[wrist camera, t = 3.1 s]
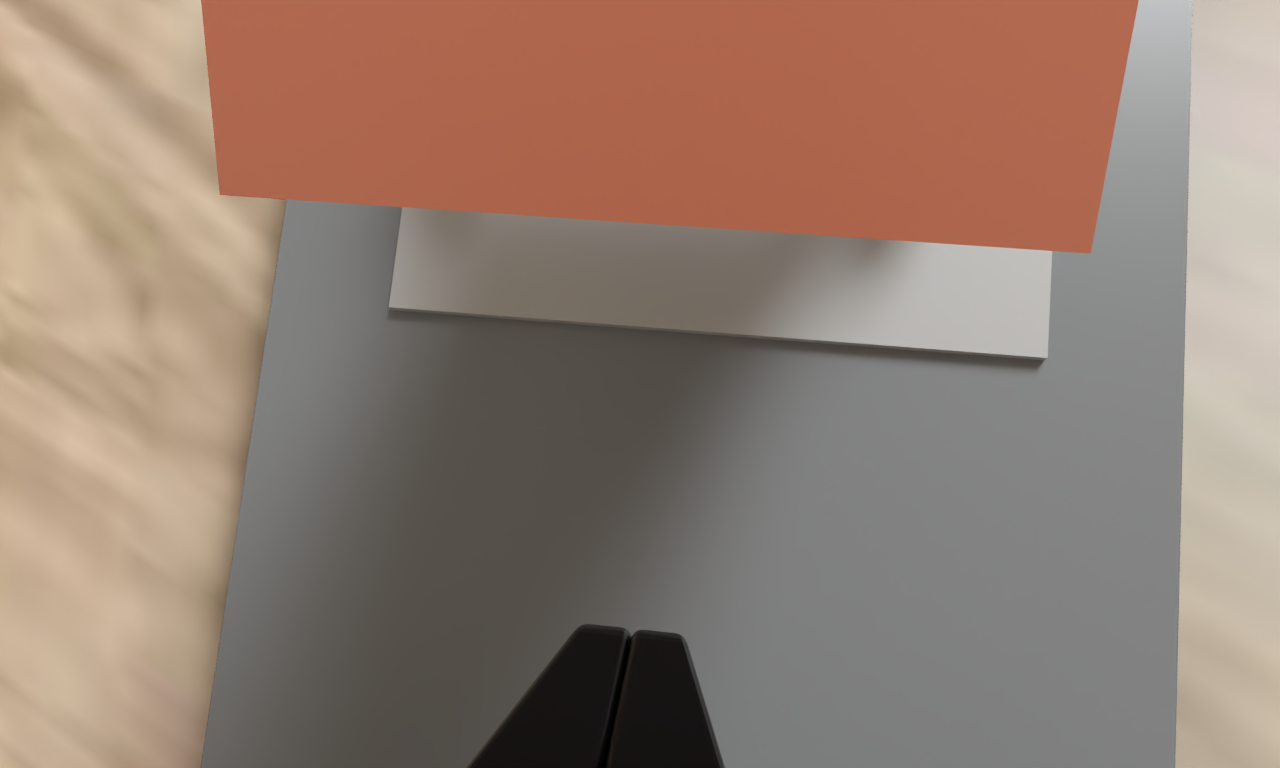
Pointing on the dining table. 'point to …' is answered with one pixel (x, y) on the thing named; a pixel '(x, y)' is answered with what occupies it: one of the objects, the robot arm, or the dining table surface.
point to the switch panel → (724, 477)
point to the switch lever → (683, 111)
